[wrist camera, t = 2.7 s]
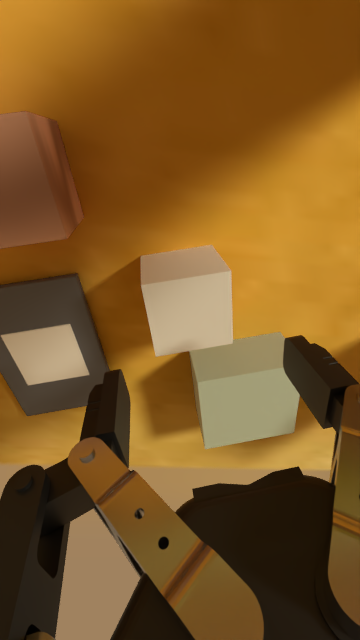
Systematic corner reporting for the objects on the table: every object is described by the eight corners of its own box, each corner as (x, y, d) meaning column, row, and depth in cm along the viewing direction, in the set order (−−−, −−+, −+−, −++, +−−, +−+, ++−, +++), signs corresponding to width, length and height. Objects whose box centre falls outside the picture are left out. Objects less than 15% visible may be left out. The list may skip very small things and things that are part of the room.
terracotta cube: (-38, 133, 15) (-107, 128, 11) (57, 121, 15) (25, 111, 11) (4, 228, 18) (-39, 254, 13) (84, 217, 18) (67, 238, 14)
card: (-41, 291, 19) (-47, 296, 19) (77, 273, 20) (75, 277, 19) (29, 410, 26) (26, 417, 25) (117, 395, 26) (117, 401, 25)
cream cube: (140, 255, 20) (140, 285, 15) (211, 244, 20) (231, 270, 16) (152, 316, 22) (155, 356, 18) (215, 306, 22) (232, 343, 18)
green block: (188, 345, 24) (197, 382, 20) (278, 330, 25) (304, 363, 21) (196, 408, 29) (205, 449, 25) (273, 395, 29) (294, 432, 25)
